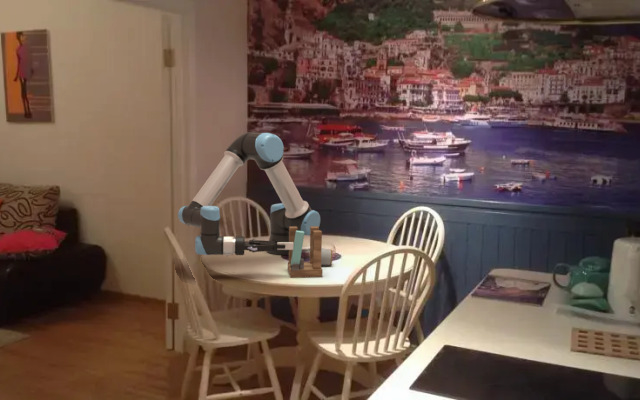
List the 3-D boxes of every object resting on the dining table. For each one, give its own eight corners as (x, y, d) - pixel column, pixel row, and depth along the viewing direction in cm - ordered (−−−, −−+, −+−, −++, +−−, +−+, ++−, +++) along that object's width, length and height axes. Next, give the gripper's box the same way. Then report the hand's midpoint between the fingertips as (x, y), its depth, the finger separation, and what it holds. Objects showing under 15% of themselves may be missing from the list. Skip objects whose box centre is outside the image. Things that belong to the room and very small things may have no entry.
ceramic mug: (332, 267, 268) (333, 249, 267) (313, 267, 267) (314, 249, 266) (330, 261, 278) (331, 244, 277) (312, 261, 278) (312, 244, 277)
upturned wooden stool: (287, 269, 263) (288, 226, 261) (317, 268, 265) (318, 226, 262) (290, 277, 250) (291, 232, 247) (322, 277, 252) (323, 232, 249)
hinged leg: (290, 266, 254) (295, 230, 252) (297, 267, 255) (303, 231, 253) (290, 268, 251) (296, 232, 249) (298, 269, 252) (304, 233, 250)
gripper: (234, 251, 255) (292, 251, 258) (234, 258, 242) (294, 258, 245) (235, 233, 254) (292, 233, 257) (234, 239, 241) (294, 240, 244)
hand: (293, 246), depth 251 cm, fingers closed
